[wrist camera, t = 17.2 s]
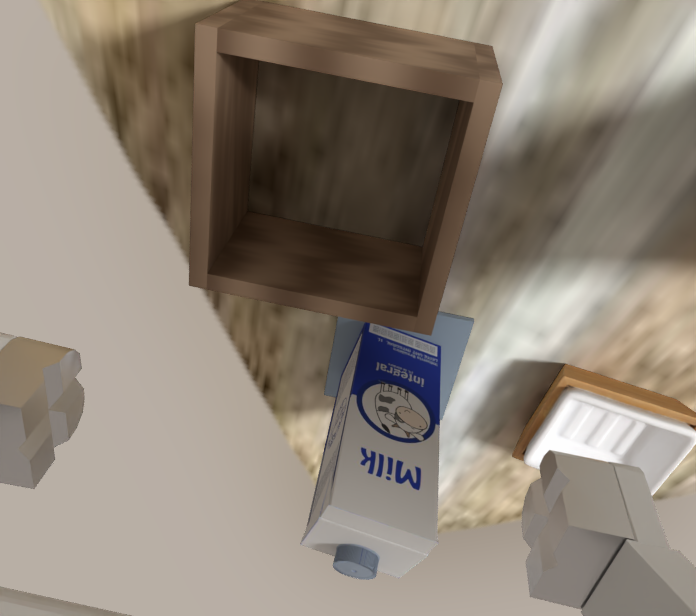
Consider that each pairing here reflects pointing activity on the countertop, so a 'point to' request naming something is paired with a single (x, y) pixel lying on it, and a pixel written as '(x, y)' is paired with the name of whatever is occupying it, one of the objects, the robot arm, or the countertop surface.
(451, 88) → the crate
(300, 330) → the countertop surface
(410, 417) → the milk carton
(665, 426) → the soap dish
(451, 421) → the countertop surface
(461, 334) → the mat
